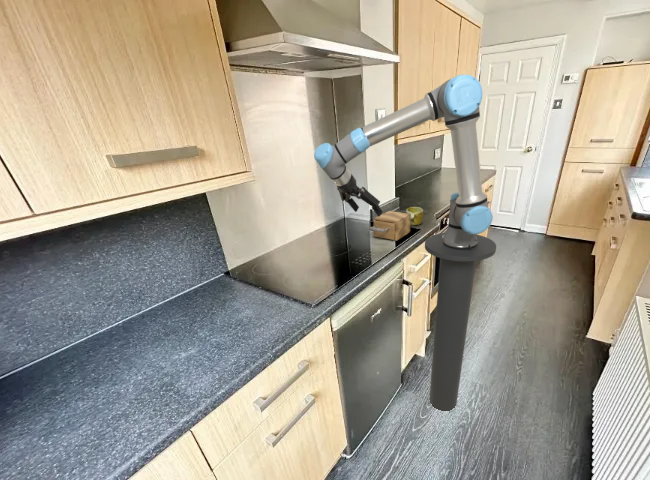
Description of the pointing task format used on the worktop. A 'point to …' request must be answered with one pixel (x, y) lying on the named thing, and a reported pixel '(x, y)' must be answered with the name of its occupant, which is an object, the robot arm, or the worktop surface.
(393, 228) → the drawer
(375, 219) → the cabinet
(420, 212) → the mug
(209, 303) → the worktop surface
